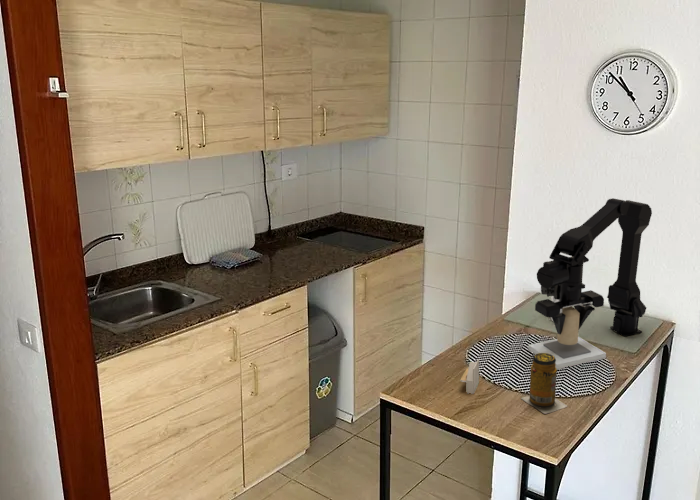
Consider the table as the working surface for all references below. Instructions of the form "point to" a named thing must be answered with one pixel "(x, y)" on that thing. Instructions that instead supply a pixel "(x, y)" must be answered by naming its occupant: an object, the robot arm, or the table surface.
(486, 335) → the table surface
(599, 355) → the white flat block
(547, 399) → the condiment
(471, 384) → the architectural model
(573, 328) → the candle
